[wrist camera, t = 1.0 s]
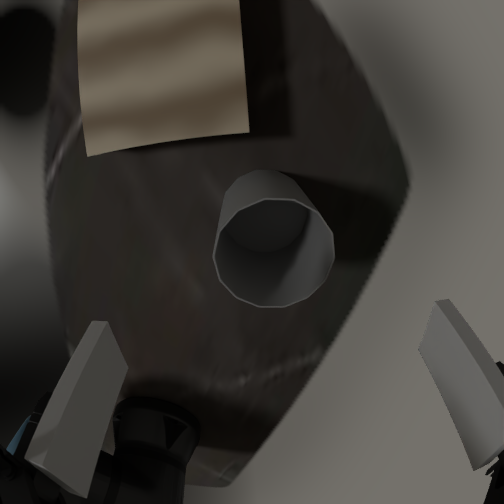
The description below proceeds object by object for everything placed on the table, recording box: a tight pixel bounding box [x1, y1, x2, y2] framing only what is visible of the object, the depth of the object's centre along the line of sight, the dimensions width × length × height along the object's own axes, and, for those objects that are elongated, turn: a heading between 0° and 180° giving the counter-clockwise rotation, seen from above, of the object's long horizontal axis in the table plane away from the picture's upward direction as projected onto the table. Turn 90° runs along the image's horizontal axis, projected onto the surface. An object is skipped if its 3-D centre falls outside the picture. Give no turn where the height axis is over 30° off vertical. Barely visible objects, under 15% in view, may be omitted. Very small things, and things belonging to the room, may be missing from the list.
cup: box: [213, 170, 335, 307], centre depth 25 cm, size 8×8×10 cm
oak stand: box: [78, 0, 249, 157], centre depth 21 cm, size 18×14×4 cm
